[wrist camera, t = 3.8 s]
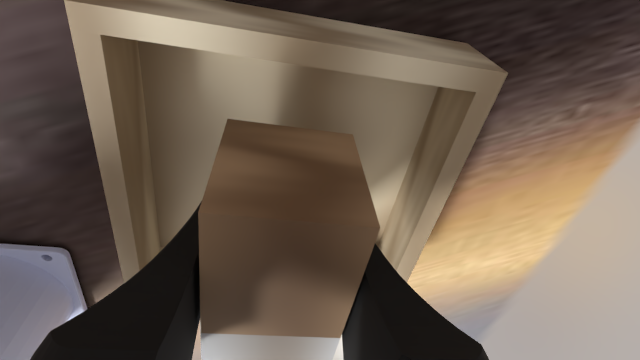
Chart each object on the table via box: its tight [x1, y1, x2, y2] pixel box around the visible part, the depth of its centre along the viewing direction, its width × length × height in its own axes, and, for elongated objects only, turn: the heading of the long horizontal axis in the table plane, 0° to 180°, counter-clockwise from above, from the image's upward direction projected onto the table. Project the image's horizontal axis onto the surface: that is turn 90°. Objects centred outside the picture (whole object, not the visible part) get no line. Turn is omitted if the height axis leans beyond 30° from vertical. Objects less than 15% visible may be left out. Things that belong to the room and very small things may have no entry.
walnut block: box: [198, 119, 380, 360], centre depth 13 cm, size 4×8×5 cm, turn 170°
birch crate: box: [64, 0, 508, 283], centre depth 16 cm, size 14×14×4 cm
